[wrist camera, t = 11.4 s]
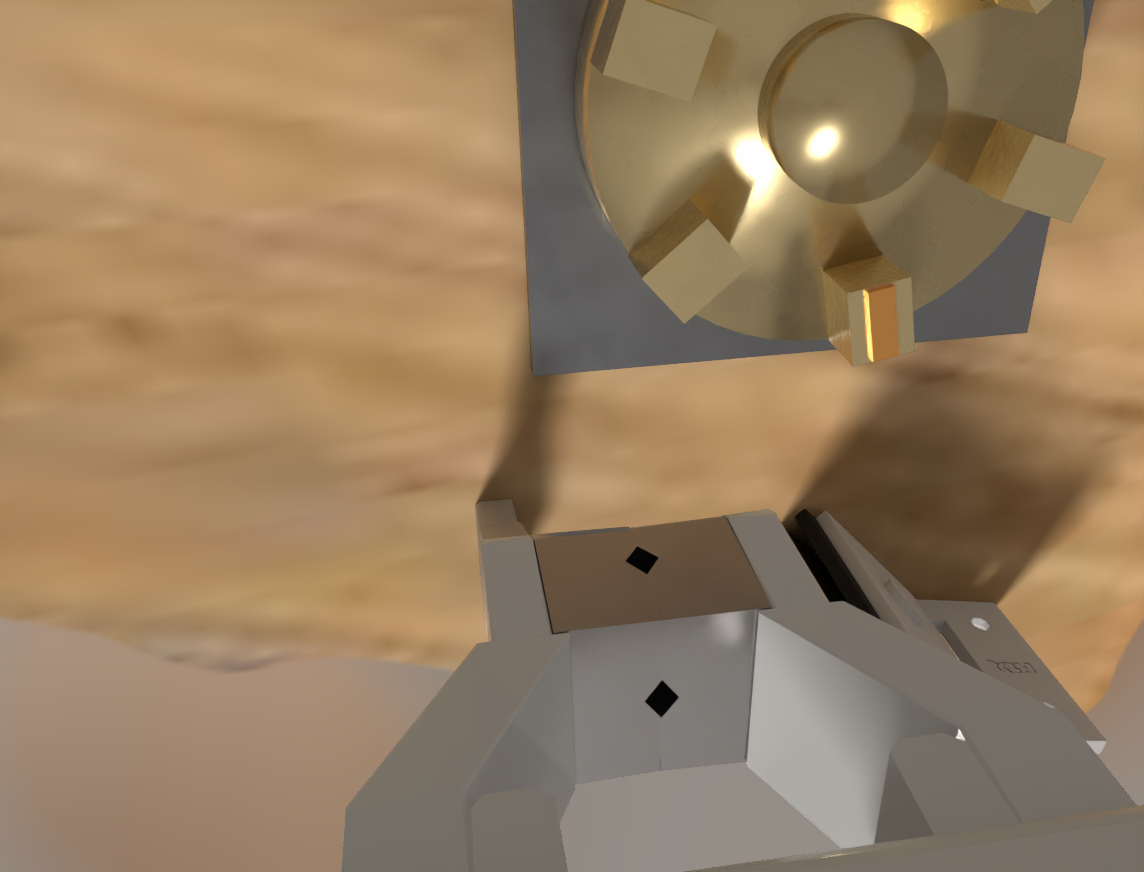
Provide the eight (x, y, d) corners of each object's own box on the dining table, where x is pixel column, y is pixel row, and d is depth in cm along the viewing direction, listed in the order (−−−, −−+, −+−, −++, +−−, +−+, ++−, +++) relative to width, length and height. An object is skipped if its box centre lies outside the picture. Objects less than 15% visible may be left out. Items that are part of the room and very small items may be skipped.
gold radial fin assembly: (524, -119, 34) (545, -119, 29) (1042, -247, 34) (1150, -268, 30) (623, 359, 43) (652, 422, 38) (1035, 252, 43) (1117, 300, 38)
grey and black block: (998, 602, 54) (1112, 743, 45) (930, 673, 56) (1028, 821, 47) (804, 495, 49) (891, 631, 40) (736, 576, 51) (806, 723, 42)
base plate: (531, 368, 44) (533, 377, 43) (499, -253, 33) (501, -256, 32) (1017, 325, 46) (1028, 333, 45) (1132, -264, 36) (1149, -267, 35)
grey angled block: (517, 572, 49) (536, 688, 42) (480, 576, 48) (493, 693, 41) (510, 441, 45) (530, 543, 38) (471, 444, 45) (483, 548, 38)
